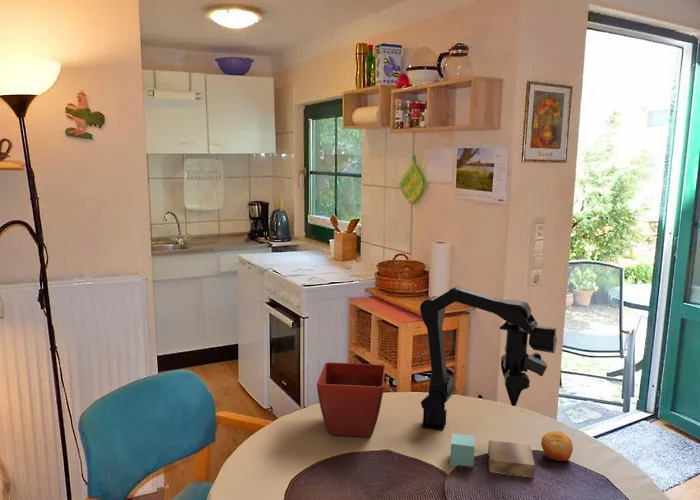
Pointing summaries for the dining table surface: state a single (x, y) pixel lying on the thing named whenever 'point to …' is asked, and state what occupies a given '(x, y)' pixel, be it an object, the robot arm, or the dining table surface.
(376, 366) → the plant pot
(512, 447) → the light tan wooden block
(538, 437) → the dining table surface
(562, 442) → the fruit
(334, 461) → the dining table surface
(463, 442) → the teal cube
